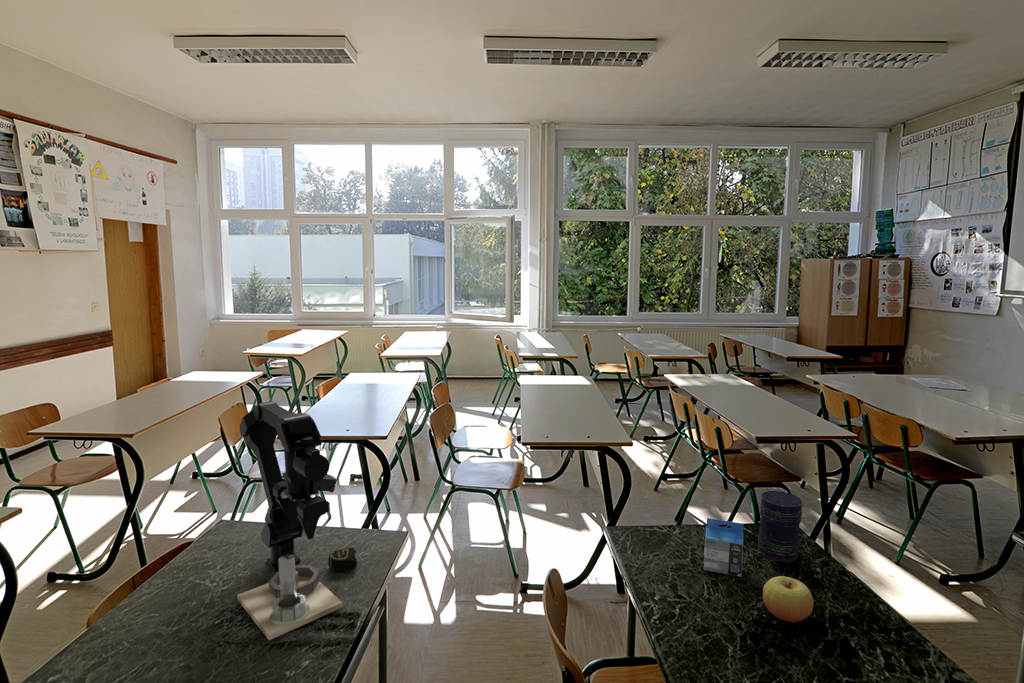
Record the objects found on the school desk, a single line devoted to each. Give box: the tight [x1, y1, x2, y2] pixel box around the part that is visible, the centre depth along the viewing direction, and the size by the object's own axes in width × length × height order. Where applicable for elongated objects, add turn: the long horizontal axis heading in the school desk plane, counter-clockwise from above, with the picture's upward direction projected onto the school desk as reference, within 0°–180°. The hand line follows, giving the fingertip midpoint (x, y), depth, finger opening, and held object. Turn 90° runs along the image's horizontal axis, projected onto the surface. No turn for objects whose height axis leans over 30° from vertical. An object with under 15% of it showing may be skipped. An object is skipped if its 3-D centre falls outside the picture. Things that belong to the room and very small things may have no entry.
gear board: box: [236, 564, 343, 641], centre depth 126 cm, size 19×16×4 cm
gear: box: [272, 554, 306, 623], centre depth 120 cm, size 6×6×12 cm
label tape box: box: [703, 517, 744, 578], centre depth 139 cm, size 9×4×12 cm, turn 68°
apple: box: [762, 575, 815, 623], centre depth 122 cm, size 10×10×8 cm
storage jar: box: [757, 490, 803, 563], centre depth 148 cm, size 10×10×15 cm
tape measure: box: [327, 547, 358, 573], centre depth 141 cm, size 7×7×4 cm
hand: (302, 531), depth 132 cm, fingers open, 9 cm apart
